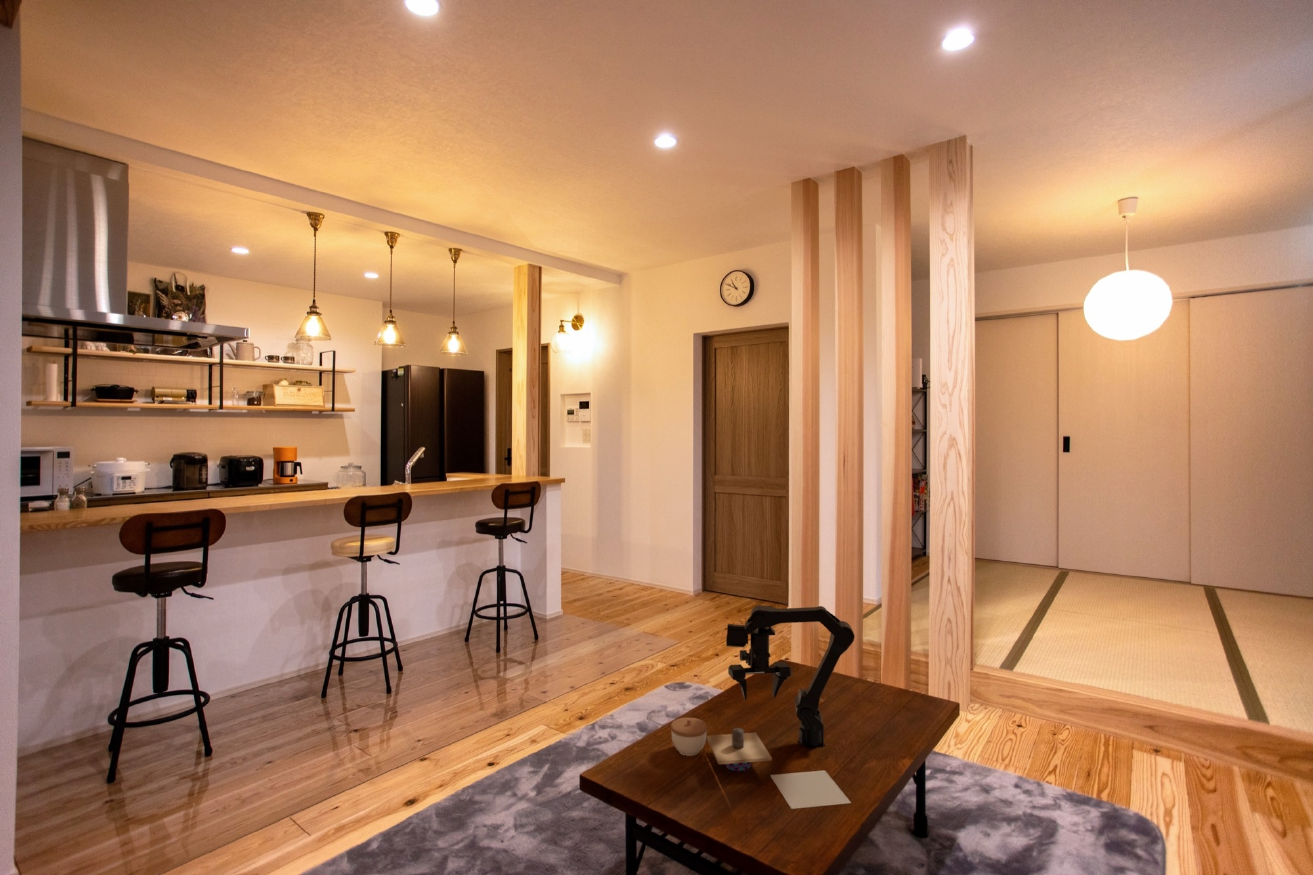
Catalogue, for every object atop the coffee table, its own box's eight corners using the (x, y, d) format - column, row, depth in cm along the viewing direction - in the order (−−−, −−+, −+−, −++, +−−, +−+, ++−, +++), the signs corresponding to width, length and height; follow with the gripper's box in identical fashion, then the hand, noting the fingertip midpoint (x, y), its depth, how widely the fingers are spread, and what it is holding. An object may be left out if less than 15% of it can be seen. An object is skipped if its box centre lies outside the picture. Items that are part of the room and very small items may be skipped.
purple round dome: (754, 782, 174) (754, 763, 174) (711, 774, 178) (711, 755, 178) (761, 761, 186) (762, 743, 186) (721, 754, 190) (721, 736, 190)
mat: (824, 772, 179) (824, 770, 179) (851, 805, 163) (851, 802, 163) (770, 777, 176) (770, 775, 176) (791, 810, 160) (791, 808, 160)
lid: (755, 735, 191) (755, 717, 191) (771, 760, 176) (771, 741, 176) (706, 738, 188) (706, 720, 188) (718, 764, 174) (718, 744, 174)
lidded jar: (704, 761, 184) (704, 729, 184) (667, 757, 187) (668, 725, 187) (708, 744, 195) (709, 713, 195) (674, 740, 197) (674, 710, 197)
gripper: (779, 638, 207) (779, 686, 207) (723, 641, 204) (723, 689, 204) (792, 649, 196) (792, 700, 196) (733, 652, 193) (733, 704, 193)
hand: (759, 698), depth 197 cm, fingers open, 9 cm apart
